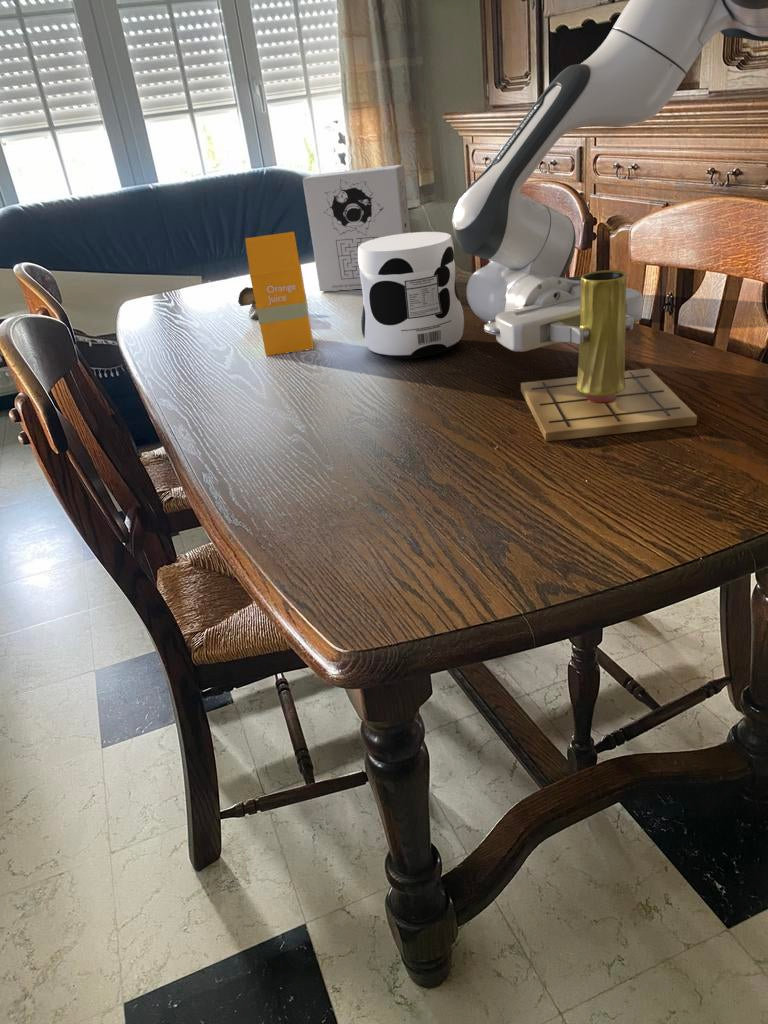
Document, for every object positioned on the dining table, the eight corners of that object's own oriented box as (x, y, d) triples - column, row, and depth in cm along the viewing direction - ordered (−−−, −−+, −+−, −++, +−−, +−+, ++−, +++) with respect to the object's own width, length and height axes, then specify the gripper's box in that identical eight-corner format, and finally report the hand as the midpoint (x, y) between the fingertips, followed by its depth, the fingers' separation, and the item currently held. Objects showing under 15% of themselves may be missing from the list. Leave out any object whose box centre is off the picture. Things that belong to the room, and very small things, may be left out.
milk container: (402, 332, 139) (391, 230, 130) (484, 338, 130) (478, 229, 121) (345, 361, 127) (329, 252, 119) (430, 371, 118) (419, 253, 109)
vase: (570, 383, 99) (571, 273, 92) (616, 377, 99) (620, 266, 92) (584, 399, 94) (586, 284, 87) (632, 392, 94) (638, 277, 87)
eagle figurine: (236, 308, 167) (231, 310, 159) (249, 278, 166) (244, 278, 157) (268, 323, 169) (264, 326, 160) (280, 293, 167) (277, 295, 158)
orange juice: (267, 344, 143) (245, 235, 133) (313, 338, 143) (294, 228, 133) (265, 356, 136) (242, 242, 126) (313, 349, 136) (294, 234, 126)
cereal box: (415, 279, 178) (404, 164, 165) (408, 286, 171) (397, 168, 159) (328, 285, 183) (312, 174, 171) (319, 292, 177) (301, 178, 165)
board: (649, 376, 105) (649, 367, 104) (696, 425, 89) (697, 415, 89) (520, 390, 106) (520, 381, 105) (545, 441, 90) (545, 431, 90)
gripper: (476, 302, 99) (535, 323, 87) (602, 272, 105) (673, 288, 94) (478, 349, 102) (536, 375, 90) (601, 317, 108) (670, 337, 97)
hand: (607, 330), depth 92 cm, fingers closed on vase, 5 cm apart
